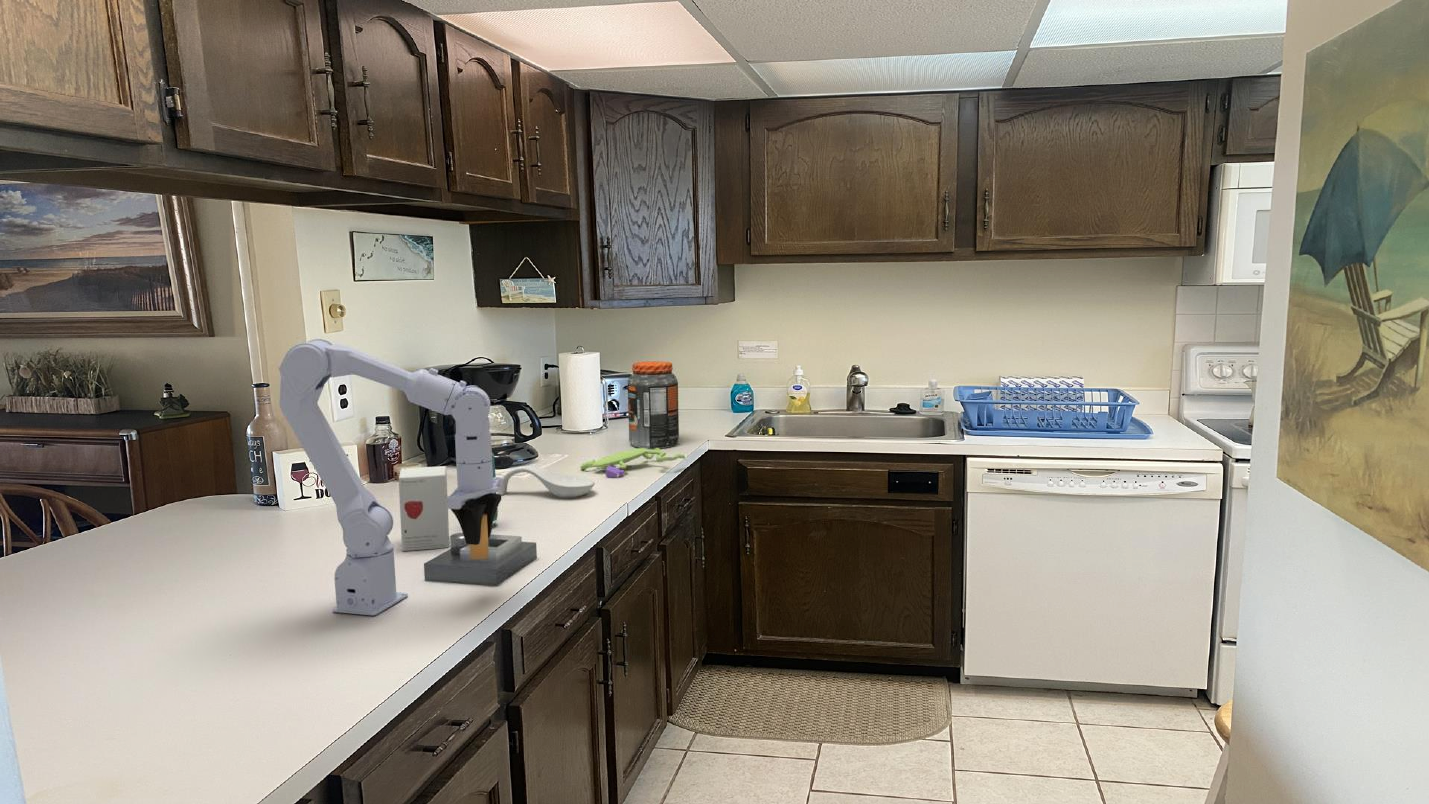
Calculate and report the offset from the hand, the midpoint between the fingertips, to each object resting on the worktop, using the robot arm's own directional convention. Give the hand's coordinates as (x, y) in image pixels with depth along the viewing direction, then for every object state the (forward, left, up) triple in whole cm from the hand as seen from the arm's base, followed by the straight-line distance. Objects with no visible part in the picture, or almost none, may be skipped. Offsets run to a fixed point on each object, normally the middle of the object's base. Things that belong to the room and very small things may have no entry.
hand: (478, 540), depth 152 cm
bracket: (+13, +5, -6) cm, 15 cm away
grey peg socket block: (+13, +7, -9) cm, 17 cm away
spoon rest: (+68, +19, -10) cm, 71 cm away
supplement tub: (+136, +14, -10) cm, 137 cm away
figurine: (+100, +8, -10) cm, 101 cm away
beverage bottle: (+39, +21, -10) cm, 45 cm away
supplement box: (+25, +26, -10) cm, 37 cm away
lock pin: (0, 0, -3) cm, 3 cm away
